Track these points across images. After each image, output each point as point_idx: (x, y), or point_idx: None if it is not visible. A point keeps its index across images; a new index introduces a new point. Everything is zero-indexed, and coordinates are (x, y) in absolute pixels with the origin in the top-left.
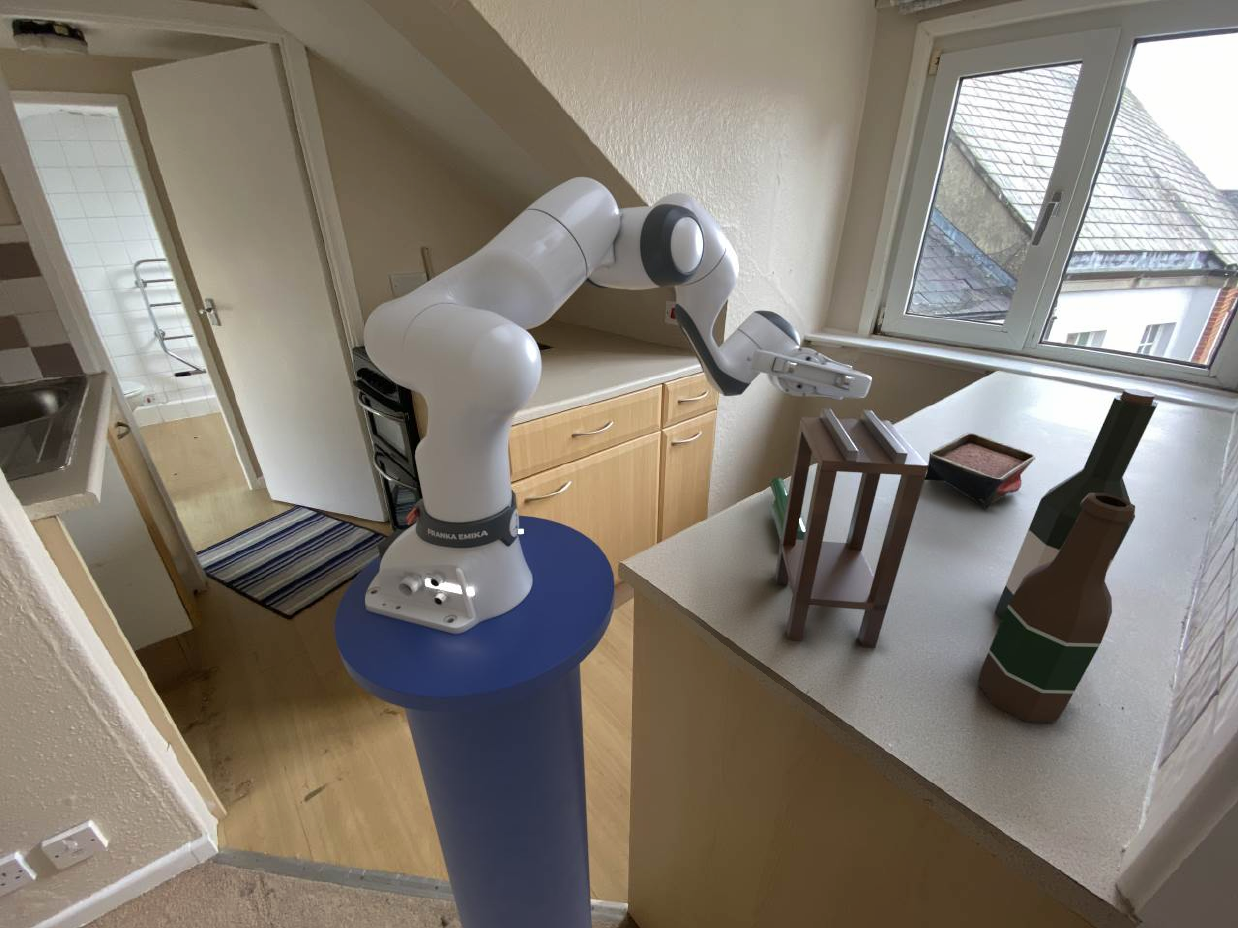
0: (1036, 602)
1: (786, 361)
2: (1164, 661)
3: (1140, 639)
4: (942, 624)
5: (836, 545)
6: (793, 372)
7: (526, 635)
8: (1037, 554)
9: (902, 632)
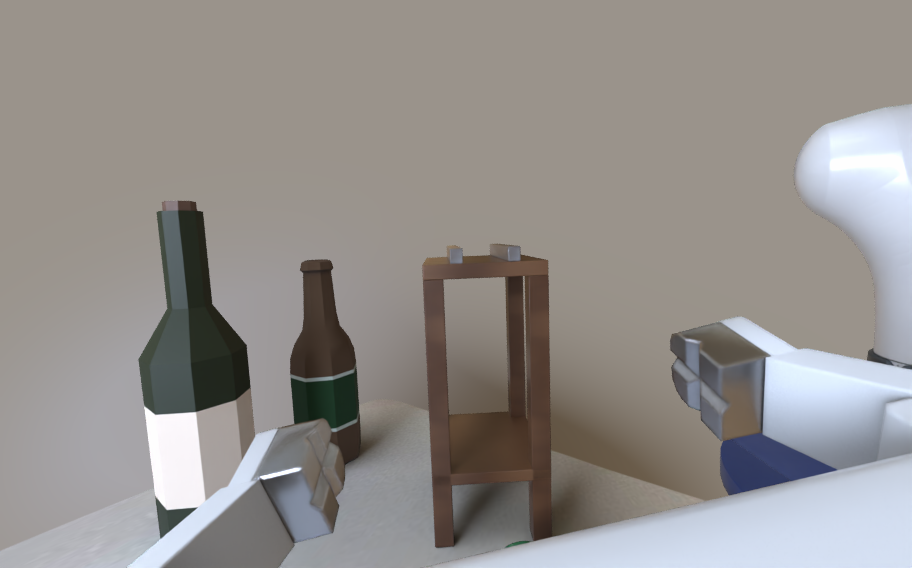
0: (351, 344)
1: (765, 332)
2: (130, 499)
3: (106, 520)
4: (341, 504)
5: (467, 468)
6: (675, 382)
7: (784, 456)
8: (249, 406)
9: (397, 489)
